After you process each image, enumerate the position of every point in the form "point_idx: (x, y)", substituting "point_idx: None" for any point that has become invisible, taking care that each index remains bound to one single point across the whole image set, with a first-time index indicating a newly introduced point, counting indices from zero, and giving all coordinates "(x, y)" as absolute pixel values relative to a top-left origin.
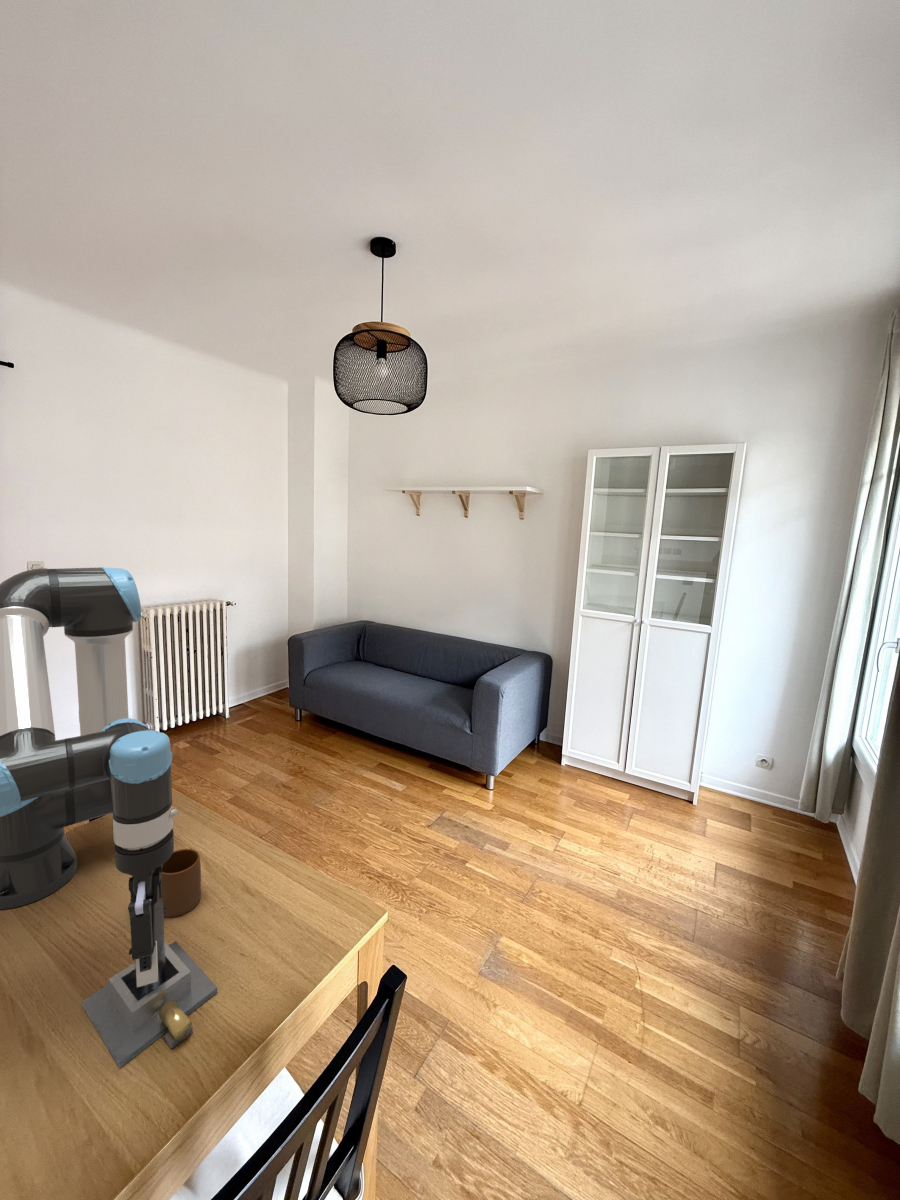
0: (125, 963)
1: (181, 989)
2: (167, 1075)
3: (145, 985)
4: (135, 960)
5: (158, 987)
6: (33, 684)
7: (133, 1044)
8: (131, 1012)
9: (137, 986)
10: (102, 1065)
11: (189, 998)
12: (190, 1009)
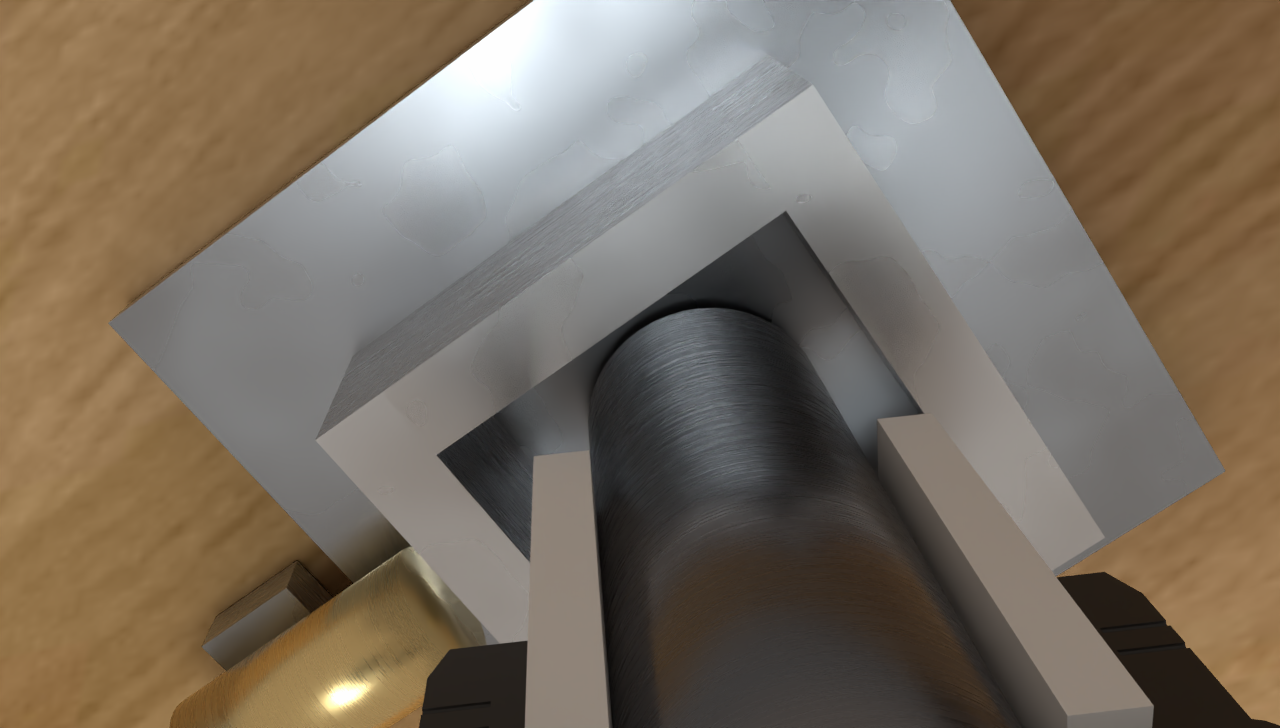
0: (1179, 54)
1: None
2: (29, 630)
3: (595, 488)
4: (691, 525)
5: None
6: None
7: (250, 383)
8: (331, 425)
9: (534, 466)
10: (180, 164)
11: None
12: None
